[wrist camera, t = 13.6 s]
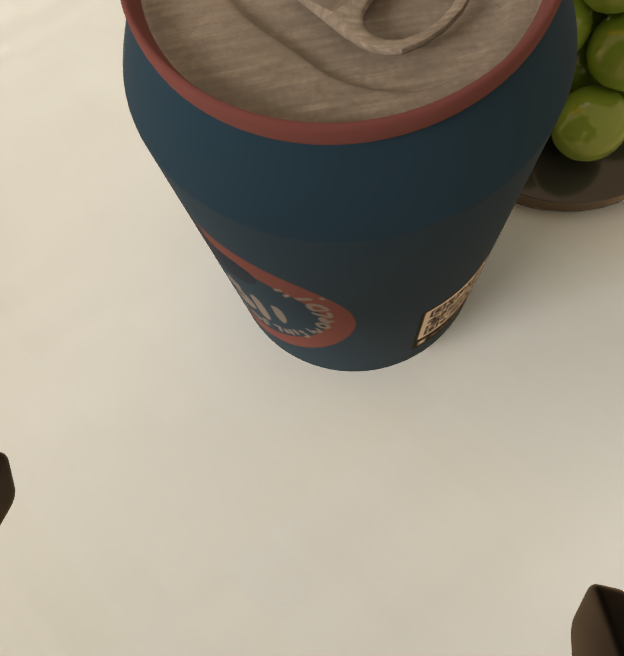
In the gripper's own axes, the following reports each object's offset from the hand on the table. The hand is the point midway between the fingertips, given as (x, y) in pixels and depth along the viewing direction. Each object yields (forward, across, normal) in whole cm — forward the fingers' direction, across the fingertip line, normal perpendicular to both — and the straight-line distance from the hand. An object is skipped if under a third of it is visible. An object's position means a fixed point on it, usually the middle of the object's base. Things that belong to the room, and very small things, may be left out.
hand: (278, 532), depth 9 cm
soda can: (+11, 0, +1) cm, 11 cm away
